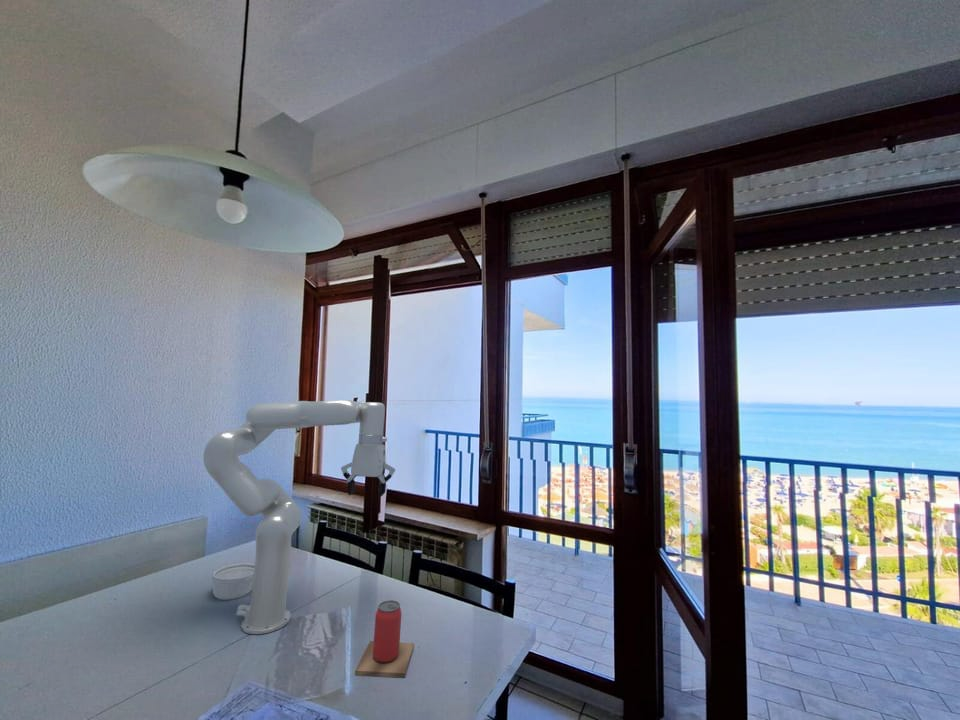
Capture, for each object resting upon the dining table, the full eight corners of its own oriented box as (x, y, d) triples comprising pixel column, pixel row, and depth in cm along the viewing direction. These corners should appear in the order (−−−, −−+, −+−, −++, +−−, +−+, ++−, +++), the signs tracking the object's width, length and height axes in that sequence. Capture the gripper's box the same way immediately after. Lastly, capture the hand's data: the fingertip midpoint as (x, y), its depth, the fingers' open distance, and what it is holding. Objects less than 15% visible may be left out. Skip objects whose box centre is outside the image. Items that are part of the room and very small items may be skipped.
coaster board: (354, 675, 91) (355, 670, 91) (369, 644, 103) (370, 641, 103) (404, 677, 91) (404, 673, 91) (413, 647, 103) (413, 643, 103)
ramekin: (263, 591, 131) (266, 569, 132) (221, 606, 120) (224, 582, 121) (244, 580, 138) (246, 560, 139) (202, 594, 127) (205, 571, 128)
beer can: (392, 666, 94) (395, 613, 95) (367, 661, 95) (371, 609, 97) (402, 650, 100) (405, 601, 102) (379, 646, 101) (383, 597, 103)
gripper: (399, 440, 127) (395, 493, 125) (348, 438, 127) (343, 491, 125) (394, 442, 120) (390, 498, 117) (339, 440, 120) (334, 496, 118)
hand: (366, 494), depth 121 cm, fingers open, 9 cm apart
